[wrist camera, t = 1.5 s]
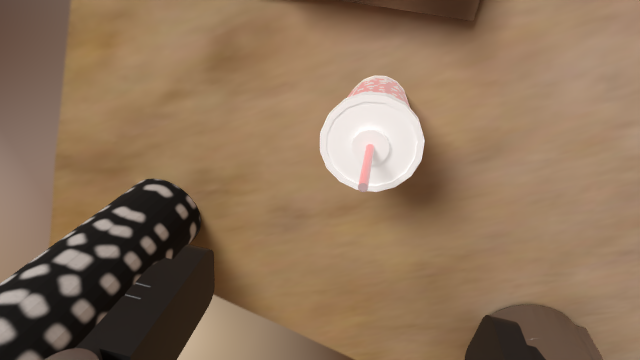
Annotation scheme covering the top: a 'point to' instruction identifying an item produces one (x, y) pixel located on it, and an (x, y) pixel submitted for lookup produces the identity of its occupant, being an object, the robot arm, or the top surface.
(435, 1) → the cup holder
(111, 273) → the white-spotted black cylinder
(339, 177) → the beverage cup
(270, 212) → the top surface
